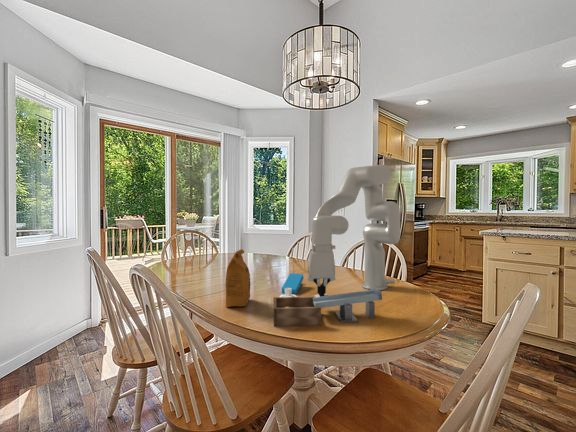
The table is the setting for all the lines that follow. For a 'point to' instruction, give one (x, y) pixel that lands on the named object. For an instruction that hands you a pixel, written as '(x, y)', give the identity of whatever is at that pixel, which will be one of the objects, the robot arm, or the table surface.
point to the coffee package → (237, 281)
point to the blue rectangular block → (293, 282)
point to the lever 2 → (347, 298)
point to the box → (296, 311)
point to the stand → (347, 315)
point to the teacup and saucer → (288, 293)
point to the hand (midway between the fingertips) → (321, 295)
